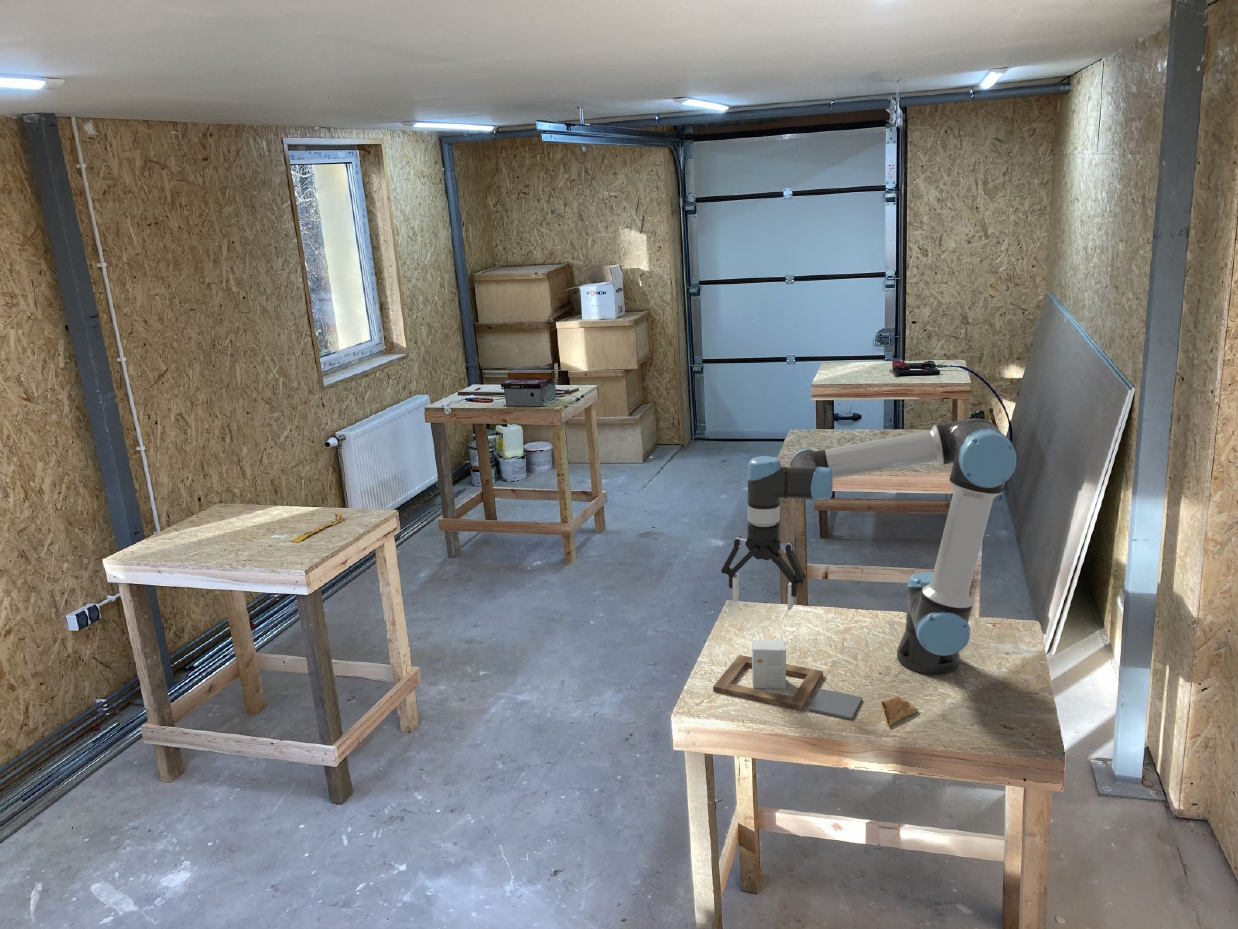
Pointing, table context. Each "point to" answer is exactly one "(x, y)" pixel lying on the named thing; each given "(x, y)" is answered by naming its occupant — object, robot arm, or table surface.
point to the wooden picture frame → (794, 702)
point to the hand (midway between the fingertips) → (762, 604)
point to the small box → (769, 664)
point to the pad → (835, 704)
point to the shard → (897, 710)
